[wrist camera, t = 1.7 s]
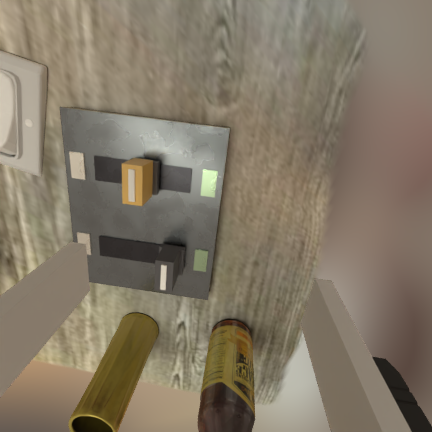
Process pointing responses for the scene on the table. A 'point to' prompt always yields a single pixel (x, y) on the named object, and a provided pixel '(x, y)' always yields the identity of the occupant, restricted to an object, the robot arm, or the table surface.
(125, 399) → the vase
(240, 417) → the sauce bottle
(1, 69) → the light switch
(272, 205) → the table surface
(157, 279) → the lever
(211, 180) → the breaker panel
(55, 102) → the table surface
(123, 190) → the lever
